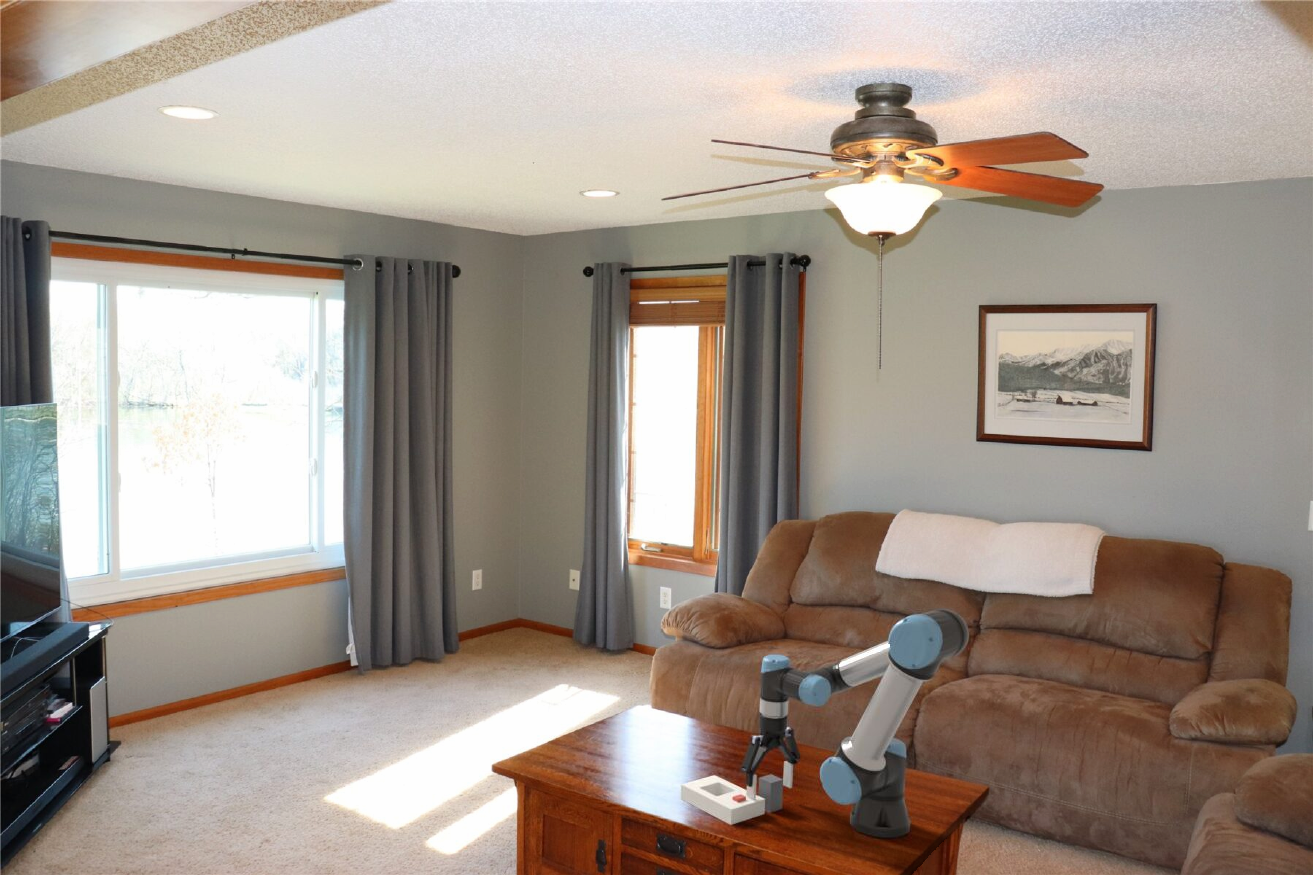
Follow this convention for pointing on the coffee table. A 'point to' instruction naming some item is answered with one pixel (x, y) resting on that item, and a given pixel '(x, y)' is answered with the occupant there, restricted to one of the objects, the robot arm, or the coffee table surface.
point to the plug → (771, 792)
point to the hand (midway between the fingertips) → (769, 791)
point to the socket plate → (722, 799)
